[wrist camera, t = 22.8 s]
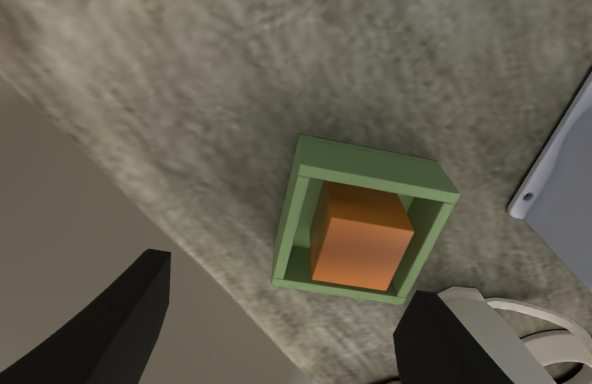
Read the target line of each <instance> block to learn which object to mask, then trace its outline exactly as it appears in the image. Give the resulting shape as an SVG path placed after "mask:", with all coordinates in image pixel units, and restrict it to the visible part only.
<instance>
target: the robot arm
mask: <svg viewBox="0 0 592 384" xmlns="http://www.w3.org/2000/svg"><path fill="white" fill-rule="evenodd" d="M528 193H529V194H528ZM526 194H528V195H527V196H526V197H524V196H525V195H526ZM507 212H508V213H509V214H510V216H511V217H513V218H518V219H523V220H525V221H526V223H527V224H528V225H529V226H530V227H531V228H532V229H533V230H534V231H535V232H536V234H537V235H538V236H539V237H540V238H541V239H542V240H543V241H544V242H545V243H546V245H547V246H548V247H549V248H550V249H551V250H552V251H553V252H554V253H555V254H556V256H557V257H558V258H559V259H560V260H561V261H562V262H563V263H564V264H565V265H566V267H567V268H568V269H569V270H570V271H571V272H572V273H573V274H574V275H575V276H576V278H577V279H578V280H579V281H580V282H581V283H582V284H583V285H584V286H585V287H586V288H587V289H588V290H589V291H590V292H591V293H592V72H591V73H590V75H589V76H588V78H587V80H586V81H585V83H584V85H583V86H582V88H581V89H580V91H579V93H578V94H577V96H576V97H575V99H574V101H573V102H572V104H571V106H570V107H569V109H568V110H567V112H566V114H565V115H564V117H563V119H562V120H561V122H560V123H559V125H558V127H557V128H556V130H555V131H554V133H553V135H552V136H551V138H550V140H549V141H548V143H547V144H546V146H545V148H544V149H543V151H542V153H541V154H540V156H539V157H538V159H537V161H536V162H535V164H534V165H533V167H532V169H531V170H530V172H529V174H528V175H527V177H526V178H525V180H524V182H523V183H522V185H521V186H520V188H519V190H518V191H517V193H516V195H515V196H514V198H513V199H512V201H511V203H510V204H509V206H508V208H507ZM170 265H171V252H166V251H160V250H154V249H147V250H146V251H144V252H143V253H142V254H141V256H139V257H138V258H137V260H135V261H134V263H133V264H132V265H131V266H130V267H129V268H128V269H126V270H125V272H123V273H122V274H121V275H120V276H119V277H118V278H117V279H116V280H115V281H114V282H113V283H112V284H111V285H110V286H109V287H108V288H106V289H105V290H104V291H103V292H102V293H101V294H100V295H99V296H98V297H96V298H95V299H94V300H93V301H92V302H91V303H90V304H89V305H88V306H87V307H85V308H84V309H83V310H82V311H81V312H79V313H78V314H77V315H76V316H74V317H73V318H72V319H71V320H70V321H68V322H67V323H66V324H65V325H63V326H62V327H61V328H60V329H59V330H57V331H56V332H55V333H54V334H53V335H51V336H50V337H49V338H47V339H46V340H45V341H44V342H42V343H41V344H40V345H38V346H37V347H36V348H34V349H33V350H31V351H30V352H29V353H28V354H26V355H25V356H23V357H22V358H21V359H19V360H18V361H16V362H15V363H14V364H12V365H11V366H9V367H8V368H7V369H5V370H4V371H2V372H1V373H0V384H138V382H139V380H140V378H141V376H142V373H143V371H144V369H145V366H146V364H147V362H148V360H149V357H150V355H151V353H152V350H153V348H154V346H155V344H156V341H157V339H158V336H159V333H160V330H161V327H162V324H163V321H164V317H165V314H166V311H167V308H168V305H169V292H170ZM393 338H394V346H395V354H396V361H397V368H398V372H399V376H400V380H401V384H515V383H514V382H513V381H512V380H511V379H510V378H509V377H508V376H507V375H506V374H505V373H504V371H503V370H502V369H501V368H500V367H499V366H498V365H497V364H496V363H495V361H494V360H493V359H492V358H491V357H490V356H489V355H488V353H487V352H486V351H485V350H484V349H483V348H482V346H481V345H480V344H479V343H478V342H477V341H476V339H475V338H474V337H473V336H472V335H471V334H470V332H469V331H468V330H467V329H466V328H465V326H464V325H463V324H462V323H461V322H460V320H459V319H458V318H457V317H456V316H455V314H454V313H453V312H452V311H451V310H450V309H449V307H448V306H447V305H446V304H445V303H444V302H443V300H442V299H441V298H440V297H439V296H438V295H437V294H436V293H432V292H425V291H419V290H417V291H416V292H415V294H414V296H413V298H412V300H411V302H410V304H409V305H408V307H407V309H406V311H405V313H404V315H403V317H402V318H401V320H400V322H399V324H398V326H397V328H396V330H395V331H394V333H393Z"/></svg>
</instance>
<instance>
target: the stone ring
mask: <svg viewBox="0 0 592 384" xmlns="http://www.w3.org/2000/svg"><path fill="white" fill-rule="evenodd" d="M385 384H401V381H400V380H399V381H392V382H389V383H385Z"/></svg>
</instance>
